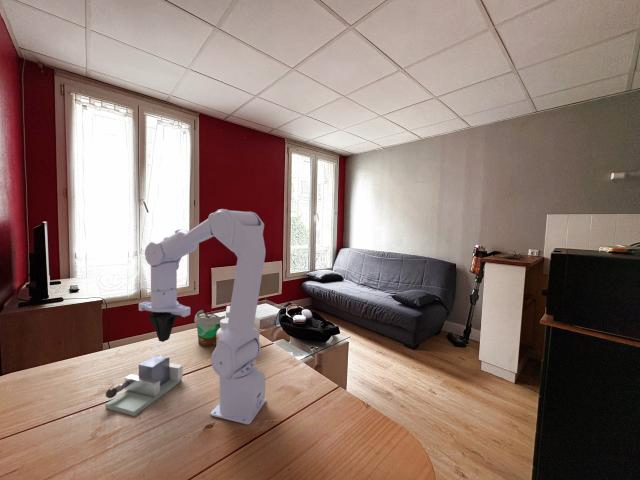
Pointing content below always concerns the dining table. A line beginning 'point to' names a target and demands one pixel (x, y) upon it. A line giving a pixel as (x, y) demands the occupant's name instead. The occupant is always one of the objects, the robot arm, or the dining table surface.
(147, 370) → the block
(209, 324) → the food container
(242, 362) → the robot arm
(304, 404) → the dining table surface
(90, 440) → the dining table surface
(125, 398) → the base
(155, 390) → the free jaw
